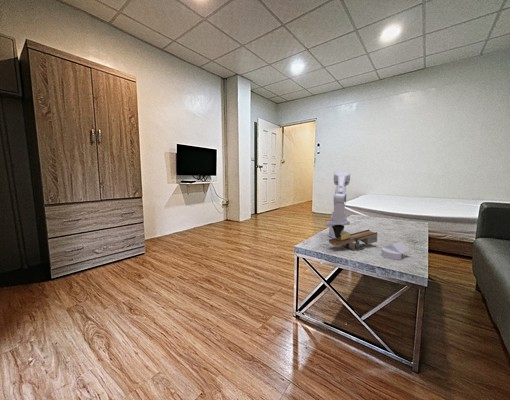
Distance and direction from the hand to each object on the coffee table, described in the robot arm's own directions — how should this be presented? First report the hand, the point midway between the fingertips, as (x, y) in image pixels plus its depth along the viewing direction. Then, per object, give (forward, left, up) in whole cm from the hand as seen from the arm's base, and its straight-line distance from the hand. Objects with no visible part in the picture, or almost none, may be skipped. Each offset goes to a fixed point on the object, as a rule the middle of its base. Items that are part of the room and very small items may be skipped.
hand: (337, 237), depth 121 cm
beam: (0, +12, -6) cm, 14 cm away
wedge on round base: (+16, +24, -7) cm, 30 cm away
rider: (0, +5, -2) cm, 5 cm away
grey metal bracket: (0, +11, -7) cm, 13 cm away
